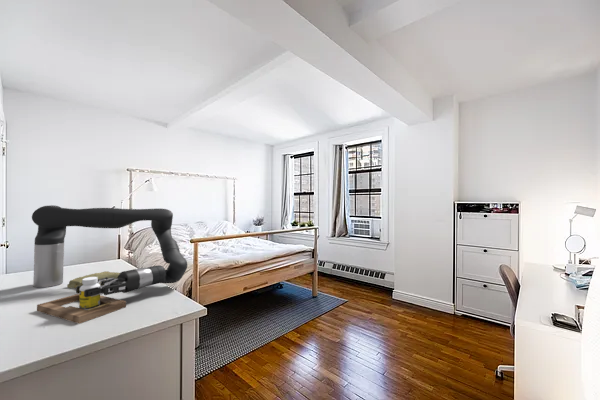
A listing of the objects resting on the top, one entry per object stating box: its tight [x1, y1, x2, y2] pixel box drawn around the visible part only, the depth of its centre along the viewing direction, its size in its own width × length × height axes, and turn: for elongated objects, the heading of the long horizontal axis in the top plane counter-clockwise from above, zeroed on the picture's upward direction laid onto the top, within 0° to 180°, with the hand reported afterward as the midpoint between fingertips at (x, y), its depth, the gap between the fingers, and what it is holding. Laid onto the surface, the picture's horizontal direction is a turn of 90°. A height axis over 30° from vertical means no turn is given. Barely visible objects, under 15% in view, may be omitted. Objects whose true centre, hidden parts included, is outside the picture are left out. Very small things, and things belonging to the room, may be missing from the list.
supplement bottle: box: [78, 277, 100, 310], centre depth 89 cm, size 5×5×10 cm
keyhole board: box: [36, 293, 127, 325], centre depth 90 cm, size 22×14×2 cm, turn 68°
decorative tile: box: [66, 271, 121, 289], centre depth 117 cm, size 19×20×4 cm
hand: (80, 291), depth 87 cm, fingers closed on supplement bottle, 5 cm apart
